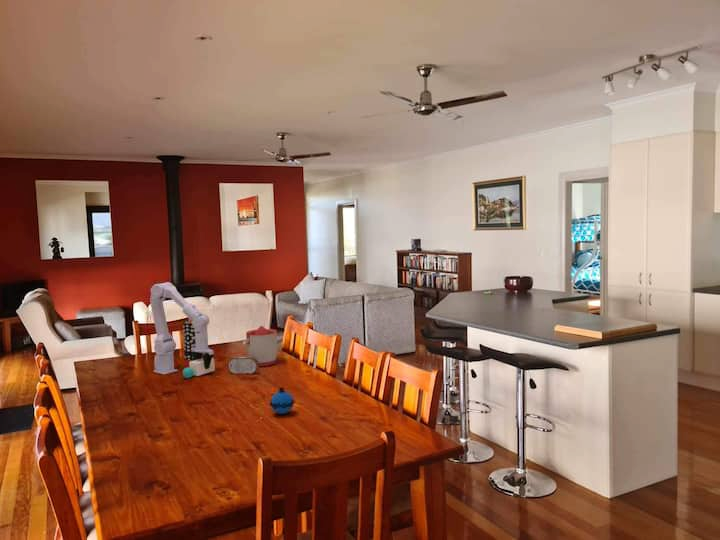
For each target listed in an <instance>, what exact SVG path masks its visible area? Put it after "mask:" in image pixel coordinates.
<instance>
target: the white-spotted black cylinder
mask: <svg viewBox="0 0 720 540" xmlns="http://www.w3.org/2000/svg"><path fill="white" fill-rule="evenodd" d="M182 329H183V331H182V332H183V351H184V352H183V353H184V360H185V361H188V360H192V361H194V358H193V357H192V355H191V353H193V352H191V348H192V347H196V341H195V329H194V326H193V325H192V321H191V320H190V321H184V322H182Z"/></svg>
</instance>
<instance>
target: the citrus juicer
mask: <svg viewBox="0 0 720 540" xmlns="http://www.w3.org/2000/svg"><path fill="white" fill-rule="evenodd" d="M277 332H278V330H277V329H275V328H274V329H272V328H265V326H263V325H260V326H259V327H258V328H256V329H252V330H247V331H246V334H245V335H246V338H245V339H244V340H243V343H242V344H243V345H246V348H247V356H251V357H254V358H256V359H257V360H258V362H259V366H260V367H268V366H272V365H271V364H273V365H274V364H275V362H276V360H277V356H278V355H277V353H278V339H277V338H278V336H277V335H278V333H277Z"/></svg>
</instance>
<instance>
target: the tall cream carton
mask: <svg viewBox="0 0 720 540" xmlns="http://www.w3.org/2000/svg"><path fill="white" fill-rule="evenodd" d="M188 364H189V366H188V367H190V368H192V369H193V372H194V373H193V376H196V377H199V376H202V375H205V374H209V373H212V372H215V368H216V367H215V358H213V357H212V359H211V363H210V367H209V368H208V369H205V367H204V361H203V358H201V359H198V360H192V361H189V362H188Z"/></svg>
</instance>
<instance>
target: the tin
mask: <svg viewBox="0 0 720 540" xmlns="http://www.w3.org/2000/svg"><path fill="white" fill-rule="evenodd" d="M259 368H260V367H259V362H258V360H257V359H256V358H254V357H251V356H248V355H246V356H243V355H242V356H241V355H239V356H238V355H237V356H236V355H235V356H233V357H231V358H230V359H229V361H227V369H228V371H229V372H230V373H231V374H233V375H247V374H246V373H249V374H248V375H251V374H250V373H254V374H256V373H257V371H258V370H259Z"/></svg>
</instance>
